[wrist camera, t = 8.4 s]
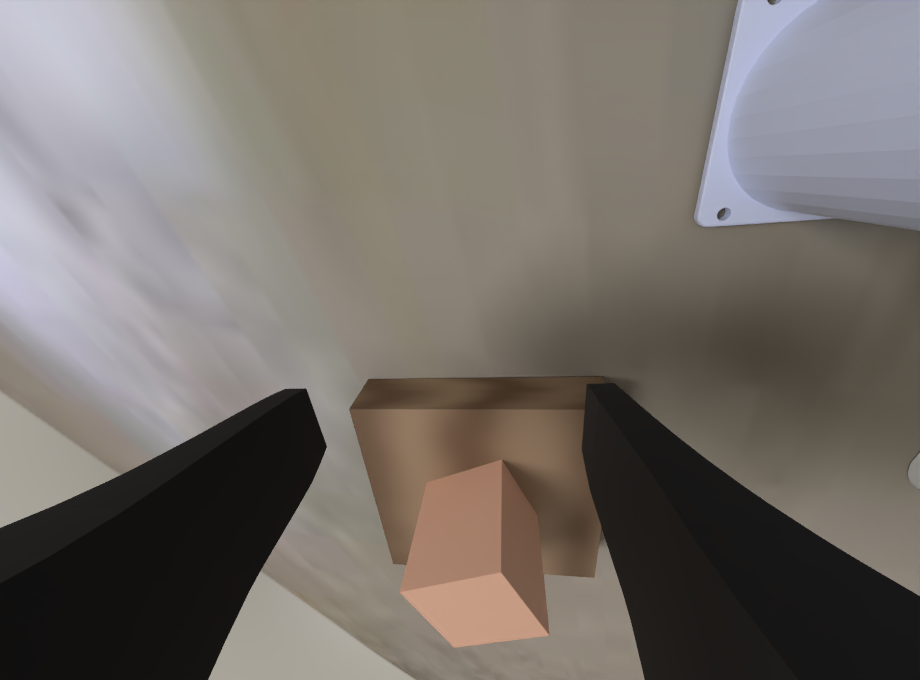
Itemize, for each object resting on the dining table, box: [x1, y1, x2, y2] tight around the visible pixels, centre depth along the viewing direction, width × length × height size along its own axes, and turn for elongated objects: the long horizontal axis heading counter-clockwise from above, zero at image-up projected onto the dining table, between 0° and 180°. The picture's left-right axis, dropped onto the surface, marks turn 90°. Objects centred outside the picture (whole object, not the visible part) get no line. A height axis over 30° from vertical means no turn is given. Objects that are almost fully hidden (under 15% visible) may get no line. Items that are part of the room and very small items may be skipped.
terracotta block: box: [400, 460, 549, 648], centre depth 18 cm, size 5×5×6 cm
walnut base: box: [349, 377, 606, 578], centre depth 22 cm, size 14×14×3 cm
